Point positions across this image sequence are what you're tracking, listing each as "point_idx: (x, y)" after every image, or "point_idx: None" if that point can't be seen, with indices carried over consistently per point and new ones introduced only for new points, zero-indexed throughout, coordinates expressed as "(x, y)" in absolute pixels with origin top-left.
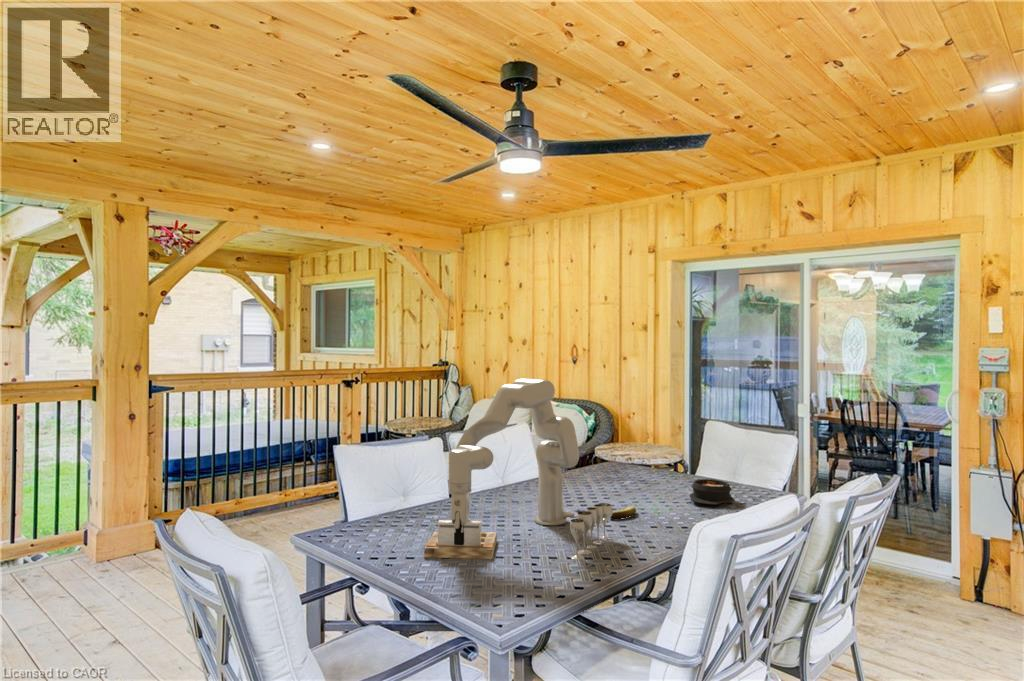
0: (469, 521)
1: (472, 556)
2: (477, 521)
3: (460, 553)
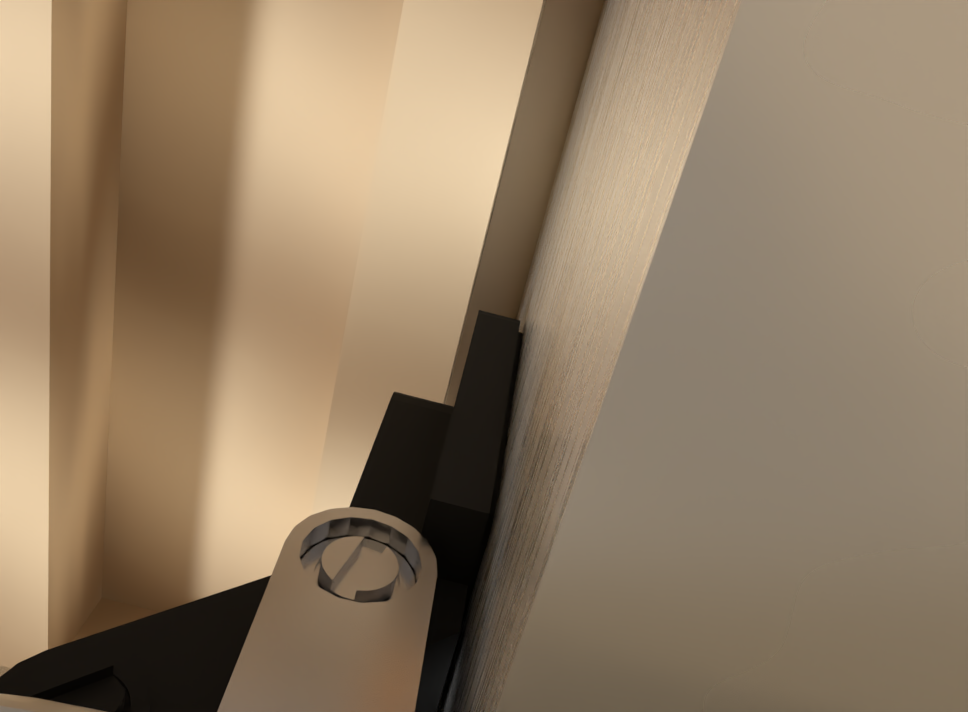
0: (678, 702)
1: None
2: (862, 130)
3: None
